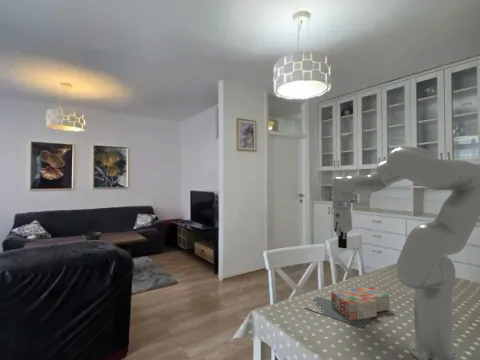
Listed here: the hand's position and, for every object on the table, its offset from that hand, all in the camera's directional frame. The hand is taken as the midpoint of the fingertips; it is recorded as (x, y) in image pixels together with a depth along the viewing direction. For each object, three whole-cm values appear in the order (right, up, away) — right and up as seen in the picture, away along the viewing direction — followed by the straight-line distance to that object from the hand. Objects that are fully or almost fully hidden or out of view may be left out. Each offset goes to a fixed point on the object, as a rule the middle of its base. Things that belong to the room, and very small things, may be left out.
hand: (342, 247), depth 114 cm
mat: (-4, -25, -5) cm, 26 cm away
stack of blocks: (+5, -22, +1) cm, 22 cm away
